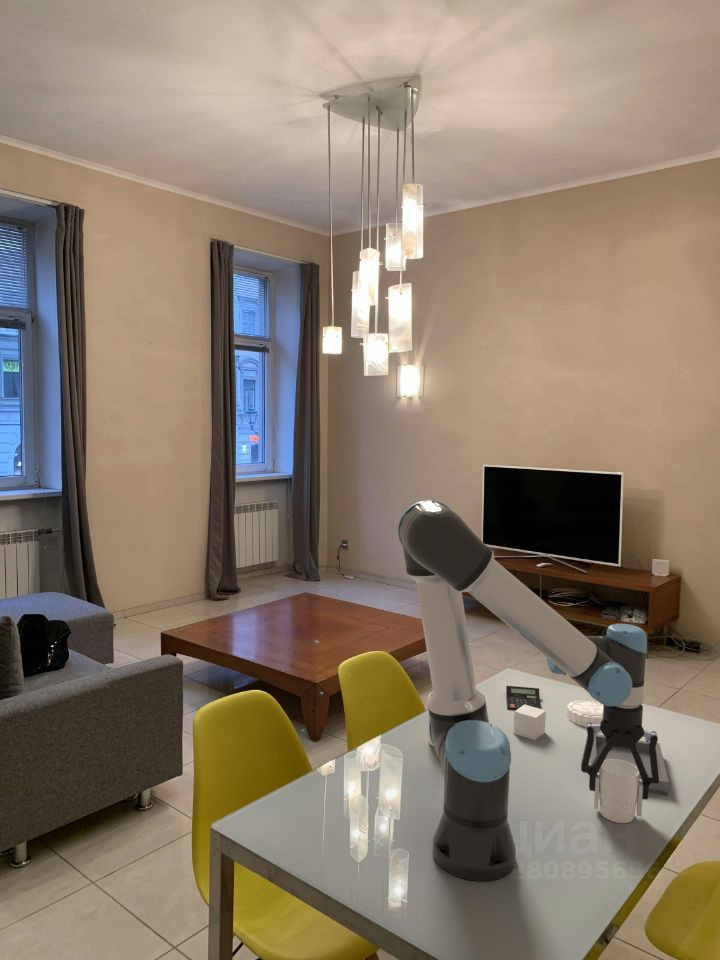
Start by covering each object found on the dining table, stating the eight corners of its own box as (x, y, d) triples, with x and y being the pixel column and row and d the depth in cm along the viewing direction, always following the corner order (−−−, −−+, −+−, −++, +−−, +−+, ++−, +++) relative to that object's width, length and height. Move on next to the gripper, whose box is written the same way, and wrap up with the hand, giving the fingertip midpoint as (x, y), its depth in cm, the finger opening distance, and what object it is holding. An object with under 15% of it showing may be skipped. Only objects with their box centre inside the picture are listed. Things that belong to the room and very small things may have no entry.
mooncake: (569, 727, 192) (570, 714, 192) (563, 709, 204) (564, 696, 204) (616, 730, 191) (617, 717, 190) (607, 712, 203) (608, 700, 202)
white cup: (607, 800, 155) (610, 755, 154) (643, 815, 149) (646, 768, 148) (589, 813, 149) (592, 767, 148) (626, 830, 144) (629, 781, 143)
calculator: (507, 710, 203) (507, 700, 202) (505, 695, 214) (506, 685, 214) (541, 713, 201) (542, 703, 201) (538, 697, 212) (539, 687, 212)
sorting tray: (667, 795, 157) (668, 782, 157) (590, 782, 162) (591, 770, 162) (658, 755, 177) (659, 743, 176) (589, 745, 181) (590, 733, 181)
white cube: (523, 726, 192) (524, 704, 191) (544, 732, 188) (546, 710, 188) (513, 733, 187) (514, 711, 186) (535, 740, 183) (536, 717, 183)
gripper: (675, 701, 148) (668, 808, 150) (571, 688, 154) (565, 791, 156) (680, 715, 141) (673, 828, 143) (570, 701, 147) (565, 809, 149)
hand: (617, 808), depth 149 cm, fingers closed on white cup, 8 cm apart
